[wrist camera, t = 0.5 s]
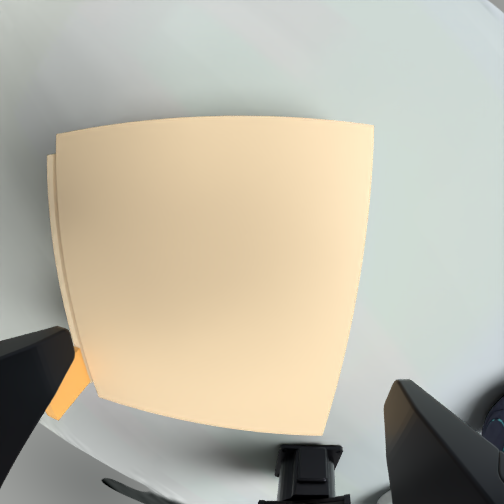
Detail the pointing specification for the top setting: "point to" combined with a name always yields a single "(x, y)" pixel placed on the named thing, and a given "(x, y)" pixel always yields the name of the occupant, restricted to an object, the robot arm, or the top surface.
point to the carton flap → (79, 368)
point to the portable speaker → (495, 425)
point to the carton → (216, 263)
